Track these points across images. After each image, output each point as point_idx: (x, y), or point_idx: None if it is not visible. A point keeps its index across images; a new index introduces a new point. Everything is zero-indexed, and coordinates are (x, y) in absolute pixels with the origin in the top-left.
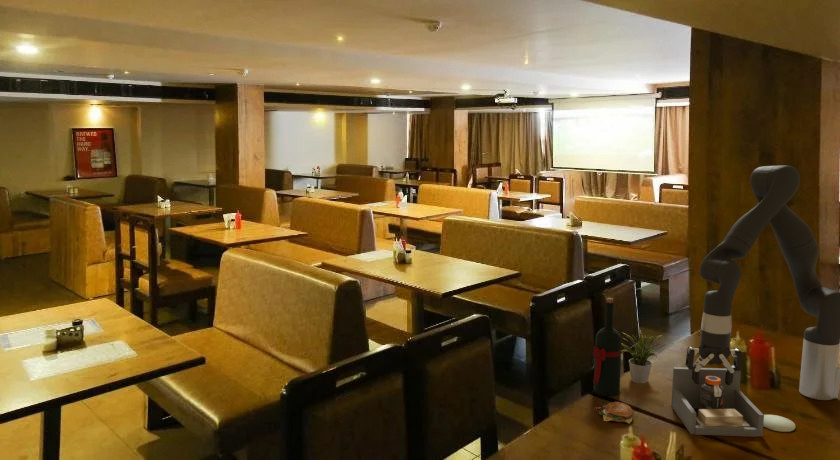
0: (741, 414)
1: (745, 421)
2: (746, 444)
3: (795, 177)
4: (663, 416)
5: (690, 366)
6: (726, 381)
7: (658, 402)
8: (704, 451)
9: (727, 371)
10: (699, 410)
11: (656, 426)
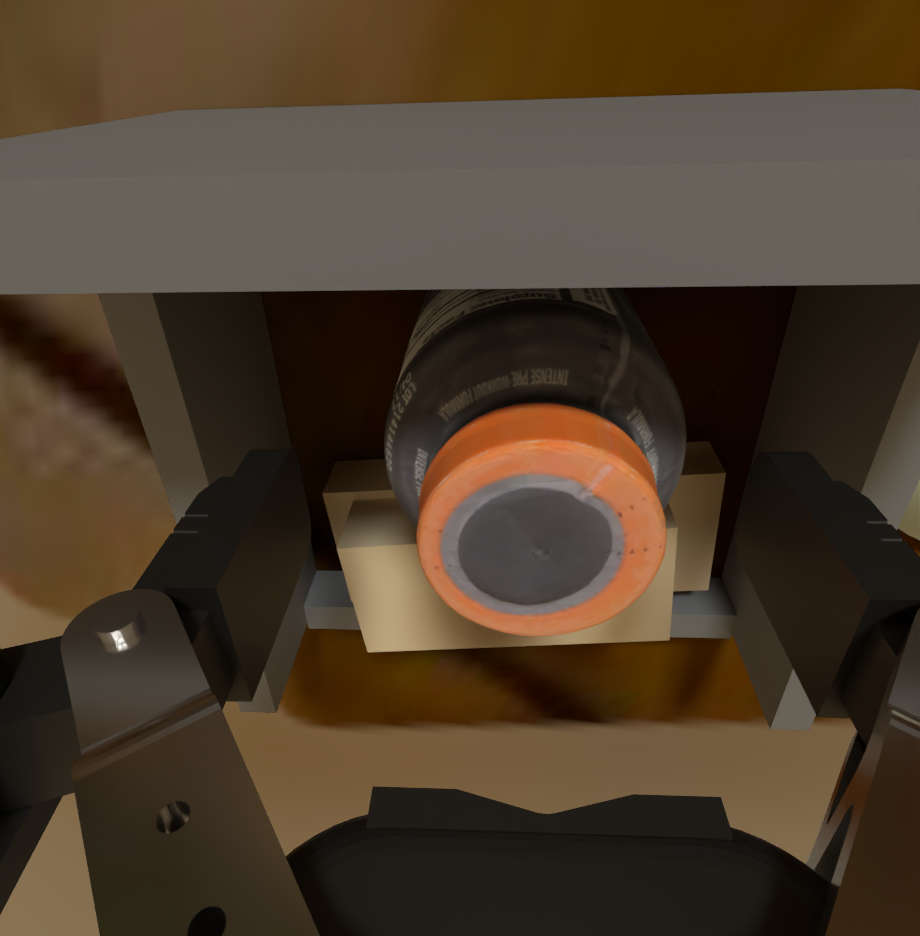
0: (795, 354)
1: (714, 535)
2: (587, 669)
3: None
4: (115, 359)
5: (5, 811)
6: (761, 521)
7: (38, 15)
8: (334, 722)
9: (856, 652)
10: (342, 566)
11: (78, 511)
